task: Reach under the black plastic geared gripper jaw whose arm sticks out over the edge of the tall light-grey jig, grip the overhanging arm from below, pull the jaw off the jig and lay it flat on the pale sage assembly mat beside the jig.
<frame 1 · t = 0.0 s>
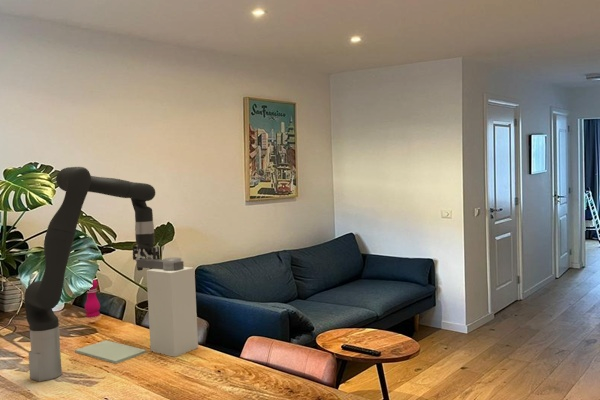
hand: (146, 271, 223), 29 cm above the table, tool pointing down, fingers open, 8 cm apart
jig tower: (174, 349, 212), on the table
assembly mat: (110, 352, 211), on the table
pepper mill: (93, 316, 270), on the table
gripper jaw: (159, 268, 213), point 32 cm above the table, touching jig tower
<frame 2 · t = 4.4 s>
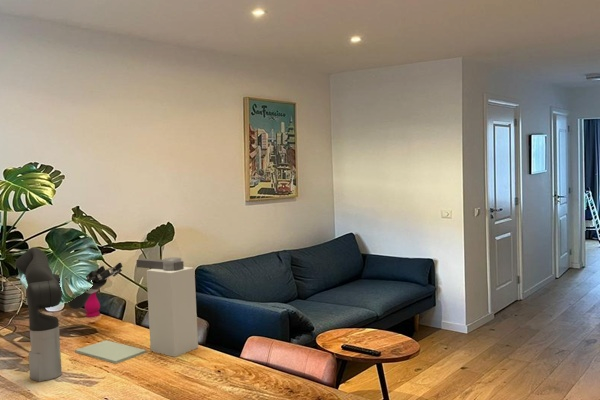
hand: (112, 266, 228), 31 cm above the table, tool pointing upward, fingers open, 8 cm apart
nothing on the table moved.
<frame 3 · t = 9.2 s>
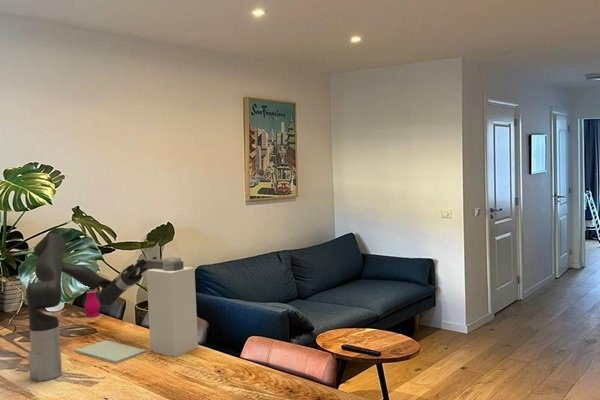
hand: (150, 260, 217), 35 cm above the table, tool pointing upward, fingers open, 5 cm apart
gripper jaw: (159, 268, 213), point 32 cm above the table, touching gripper, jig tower
everything else where it was.
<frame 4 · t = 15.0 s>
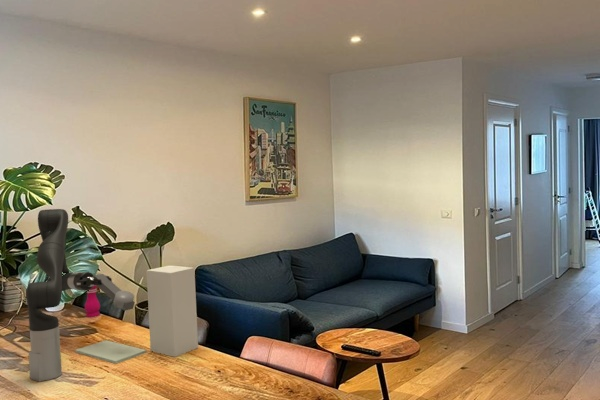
hand: (105, 281, 215), 27 cm above the table, tool horizontal, fingers closed on gripper jaw, 4 cm apart
gripper jaw: (112, 295, 213), point 22 cm above the table, tilted 25°, touching gripper
everything else where it was.
when the fingers open (13 cm above the table, at t = 18.9 s): gripper jaw drops 6 cm, resting on assembly mat.
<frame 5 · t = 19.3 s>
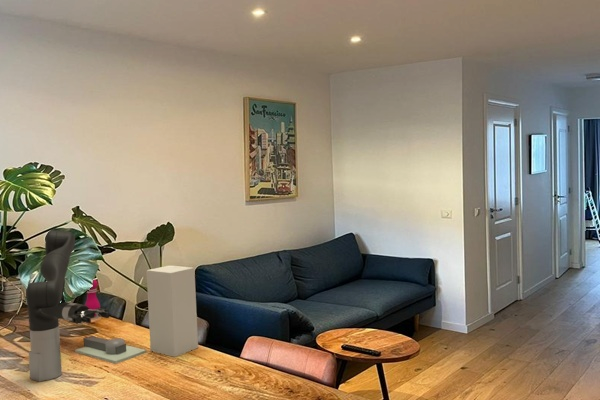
hand: (99, 317, 214), 13 cm above the table, tool horizontal, fingers open, 8 cm apart
gripper jaw: (104, 348, 213), point 1 cm above the table, touching assembly mat
everything else where it was.
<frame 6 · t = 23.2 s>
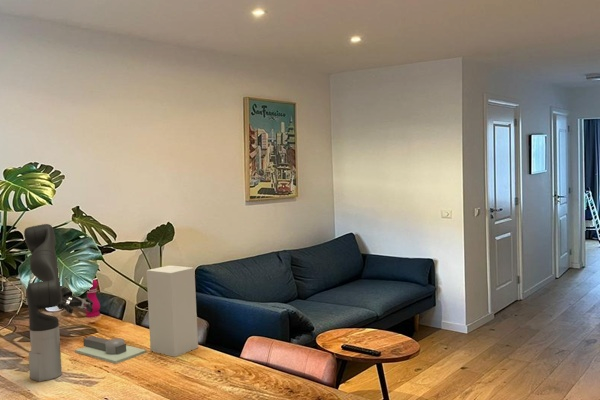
hand: (81, 311, 222), 14 cm above the table, tool tilted 70°, fingers open, 8 cm apart
nothing on the table moved.
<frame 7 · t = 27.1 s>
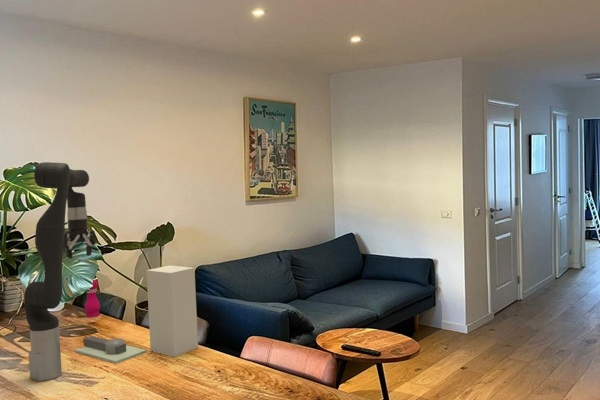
hand: (79, 256, 224), 36 cm above the table, tool pointing down, fingers open, 8 cm apart
nothing on the table moved.
at the end: gripper jaw inside the target area (3.6 cm from its centre), point 1.0 cm above the table; gripper jaw tilted 0°; the gripper is holding nothing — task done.
